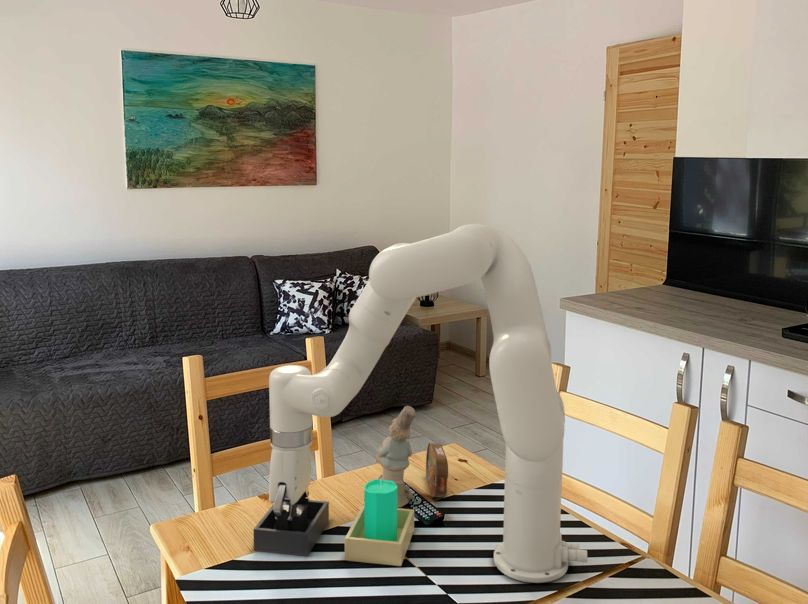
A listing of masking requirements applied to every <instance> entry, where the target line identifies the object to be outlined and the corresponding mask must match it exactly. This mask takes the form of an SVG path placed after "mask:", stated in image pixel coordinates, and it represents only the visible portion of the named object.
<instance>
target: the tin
mask: <svg viewBox="0 0 808 604" xmlns="http://www.w3.org/2000/svg"><path fill="white" fill-rule="evenodd" d="M448 462H449V461H448V458H447V455H446V453H445V450H444V448H443V445H442V444H441V443H432V442H429V443H428V444H427V448H426V457H425V477H426V483H427V485H428V489H429V493H430V495H431V498H445V497H446V496H447V492H448V490H447V489H448V479H449V463H448Z"/></svg>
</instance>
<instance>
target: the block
mask: <svg viewBox="0 0 808 604" xmlns="http://www.w3.org/2000/svg"><path fill="white" fill-rule="evenodd" d="M283 508H284V510H286V511H287V512H288V509H289V505H283ZM292 518H294V527H295V531H296V532H305V531H306V530H307V528H308V505H301V504H294V509H293V516H292Z"/></svg>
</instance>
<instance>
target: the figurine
mask: <svg viewBox="0 0 808 604" xmlns="http://www.w3.org/2000/svg"><path fill="white" fill-rule="evenodd" d="M415 417H416V410H415V408H413V407H412V406H410V405H405V406H404V407H403V409H402V410H401V411H400V413H399V414H398V416H397V417H395V418H394V419H392V424H390V425H389V427H388V429H389V430H388V431H389V435H388V436H387V437H385V438H384V439H383V440H382V442H381V443H380V444H379V447H378V449H377V451H376V453H377V454H376V456H375V463H377V464H379V465H380V466H381V467H382V474H380V475H379V476H378V478H377V479H380V478H381V480H386V481H393V482H394V483H395V484H396V485H397V508H402V507H404V506H405V505H407V504H408V503H409V501H410V500H411V499H413V498H414V493H413V492H412V491H411V490H410V489H411V488H410V486H409V485H406V483H405V482H404V474H405V470H406V469H407V468H409V466H410V460H409V457H412V454H413V451H412V447H411V443H410V440H409V438H410V437H411V425H412V423H413V421H414V419H415ZM412 496H413V497H412ZM407 497H408V498H407Z"/></svg>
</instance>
